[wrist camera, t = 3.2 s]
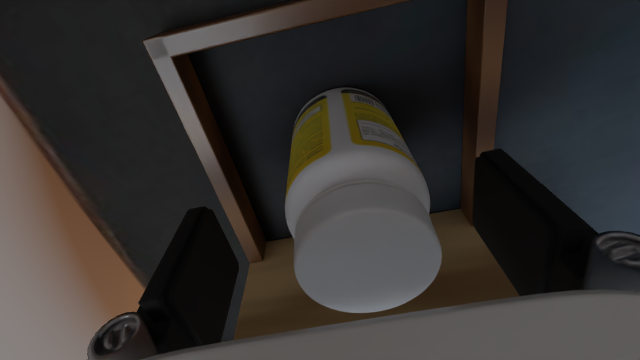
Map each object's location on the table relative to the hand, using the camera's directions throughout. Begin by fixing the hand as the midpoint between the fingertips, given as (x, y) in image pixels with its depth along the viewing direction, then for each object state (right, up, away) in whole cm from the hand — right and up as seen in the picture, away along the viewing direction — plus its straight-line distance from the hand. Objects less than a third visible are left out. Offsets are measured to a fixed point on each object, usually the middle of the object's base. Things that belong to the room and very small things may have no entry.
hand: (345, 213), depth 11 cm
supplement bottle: (0, +4, +4) cm, 6 cm away
